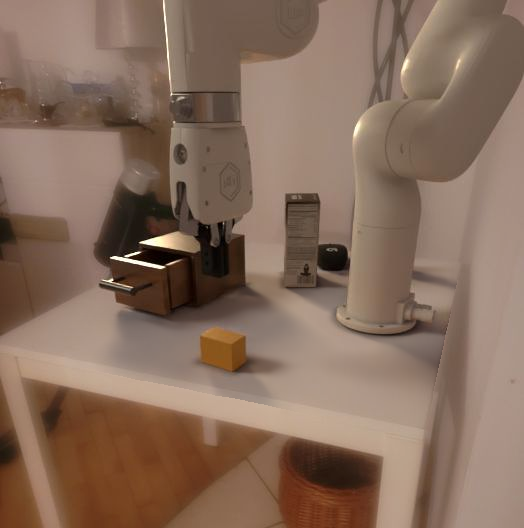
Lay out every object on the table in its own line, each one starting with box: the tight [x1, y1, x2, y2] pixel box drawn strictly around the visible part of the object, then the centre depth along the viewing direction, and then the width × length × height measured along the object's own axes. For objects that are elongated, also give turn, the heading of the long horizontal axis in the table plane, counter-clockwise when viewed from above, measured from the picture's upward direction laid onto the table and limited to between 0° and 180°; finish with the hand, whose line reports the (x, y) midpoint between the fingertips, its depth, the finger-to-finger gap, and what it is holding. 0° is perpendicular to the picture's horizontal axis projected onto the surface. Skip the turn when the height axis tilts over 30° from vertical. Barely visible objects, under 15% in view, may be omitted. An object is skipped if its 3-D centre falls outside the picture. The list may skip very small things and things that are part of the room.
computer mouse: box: [317, 242, 349, 271], centre depth 107 cm, size 8×12×4 cm, turn 179°
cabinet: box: [138, 230, 247, 308], centre depth 90 cm, size 15×13×10 cm
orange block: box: [199, 326, 247, 372], centre depth 65 cm, size 5×3×4 cm, turn 57°
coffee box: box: [283, 192, 322, 288], centre depth 93 cm, size 9×6×16 cm
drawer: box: [98, 249, 194, 317], centre depth 83 cm, size 18×11×8 cm, turn 147°
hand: (215, 274), depth 61 cm, fingers closed
